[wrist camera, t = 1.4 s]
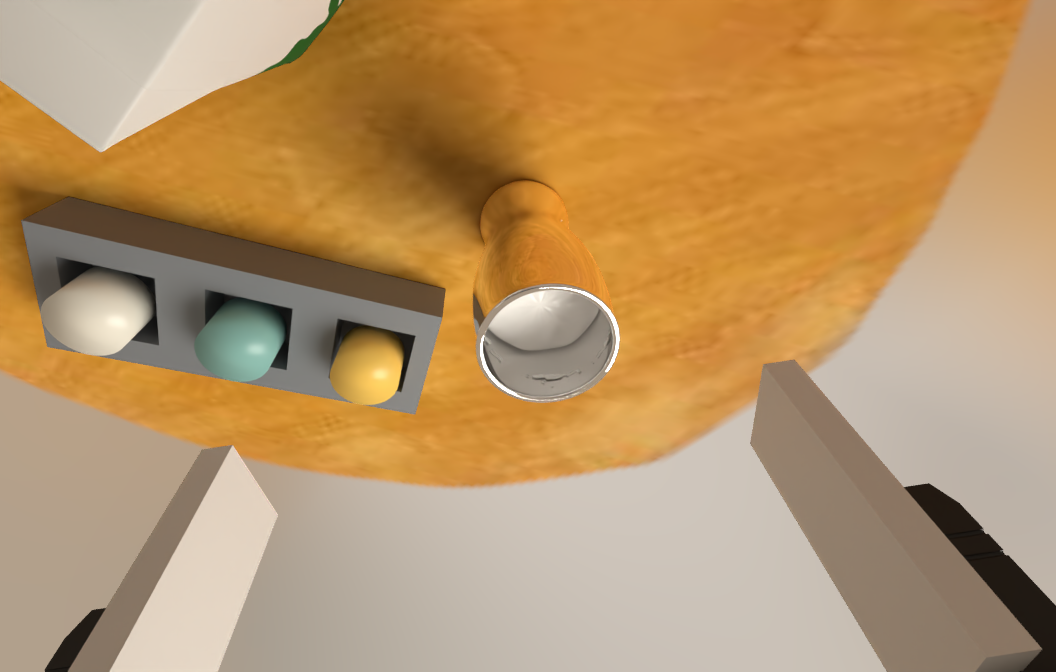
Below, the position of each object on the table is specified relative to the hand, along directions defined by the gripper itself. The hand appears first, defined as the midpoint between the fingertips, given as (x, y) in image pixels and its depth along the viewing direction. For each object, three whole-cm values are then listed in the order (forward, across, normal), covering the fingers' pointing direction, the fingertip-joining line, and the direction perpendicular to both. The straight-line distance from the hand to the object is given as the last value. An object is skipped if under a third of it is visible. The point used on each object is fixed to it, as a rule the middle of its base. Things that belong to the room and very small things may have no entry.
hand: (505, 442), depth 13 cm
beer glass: (+25, +2, -4) cm, 25 cm away
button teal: (+21, -18, -7) cm, 28 cm away
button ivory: (+21, -25, -4) cm, 33 cm away
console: (+24, -18, -7) cm, 31 cm away
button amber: (+21, -10, -10) cm, 26 cm away
